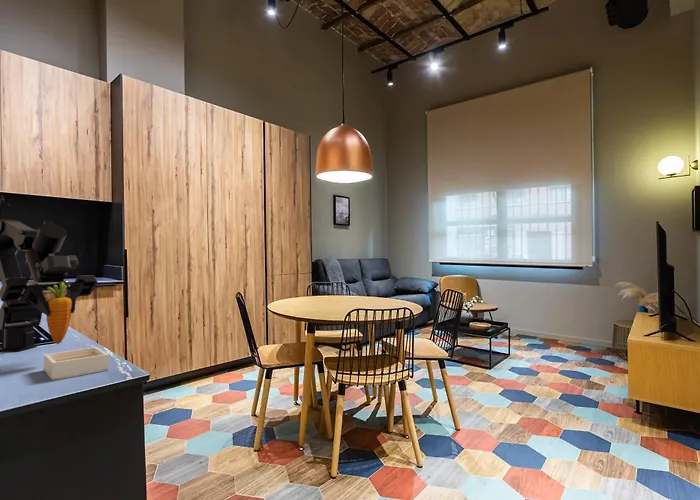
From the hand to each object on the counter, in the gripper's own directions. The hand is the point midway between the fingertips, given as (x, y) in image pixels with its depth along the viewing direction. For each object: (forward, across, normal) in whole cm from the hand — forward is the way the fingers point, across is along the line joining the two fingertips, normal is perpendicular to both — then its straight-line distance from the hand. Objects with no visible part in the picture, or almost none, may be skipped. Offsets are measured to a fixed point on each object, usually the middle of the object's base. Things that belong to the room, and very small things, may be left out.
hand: (61, 313), depth 91 cm
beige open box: (+15, 0, +3) cm, 15 cm away
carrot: (+5, 0, +6) cm, 8 cm away
